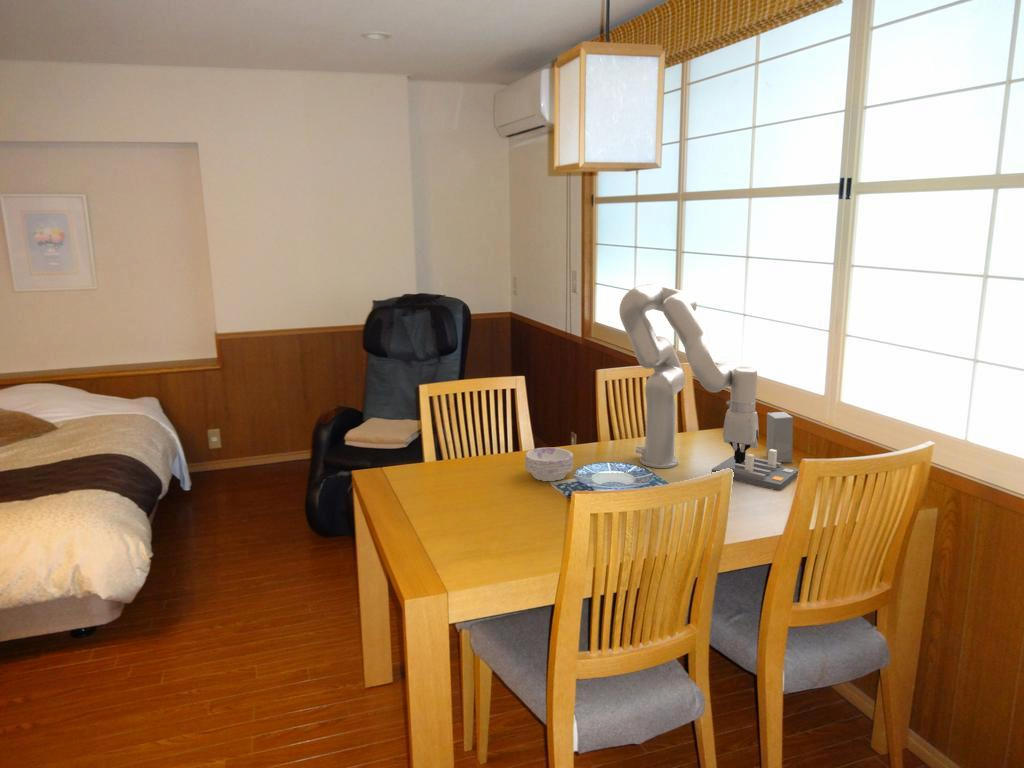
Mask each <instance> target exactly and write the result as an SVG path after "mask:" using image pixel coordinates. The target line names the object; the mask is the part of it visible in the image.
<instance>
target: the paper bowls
mask: <svg viewBox="0 0 1024 768" xmlns="http://www.w3.org/2000/svg"><path fill="white" fill-rule="evenodd" d="M524 460H525V462H524V465H525V466H524V467H525V470H526V471H527V472H529V473H531V475H532V477H533V478H534V479H535V480H538V481H540V480H542V481H541V482H546V481H554V482H556V481H555V480H559V481H562V480H563V479H564V478H565V477H566V476H567V474H568V473H570V472H572V471H573V469H574V454H573V452H572V451H570V450H568V449H565V448H559V447H552V446H551V447H550V446H549V447H537V448H533V449H530V450H528V451H526V453H525V459H524ZM561 479H562V480H561Z"/></svg>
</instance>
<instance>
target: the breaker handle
mask: <svg viewBox="0 0 1024 768" xmlns="http://www.w3.org/2000/svg"><path fill="white" fill-rule="evenodd" d="M776 459H777V450H774V449H770V450H769V453H768V456H767V460H768V465H771V466H776Z"/></svg>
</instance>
